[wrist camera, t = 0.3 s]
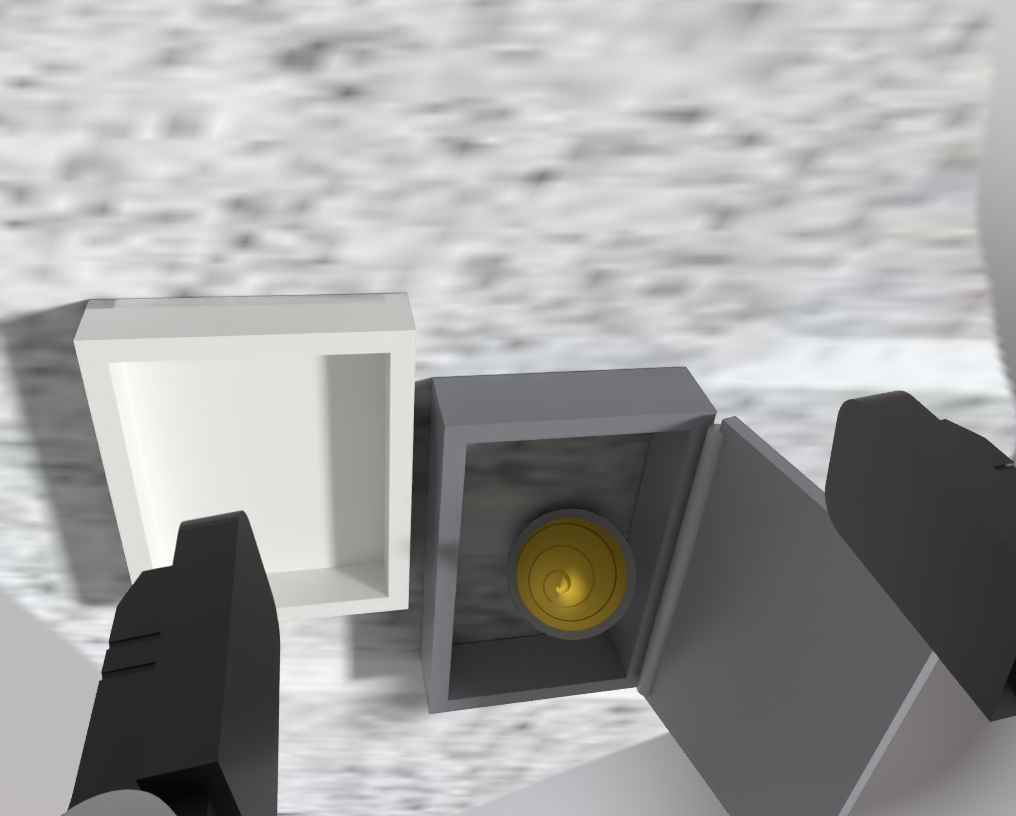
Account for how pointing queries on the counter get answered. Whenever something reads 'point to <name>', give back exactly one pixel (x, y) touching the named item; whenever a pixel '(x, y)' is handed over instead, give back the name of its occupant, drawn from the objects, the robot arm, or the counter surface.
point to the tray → (263, 434)
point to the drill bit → (571, 574)
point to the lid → (775, 640)
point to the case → (652, 538)
